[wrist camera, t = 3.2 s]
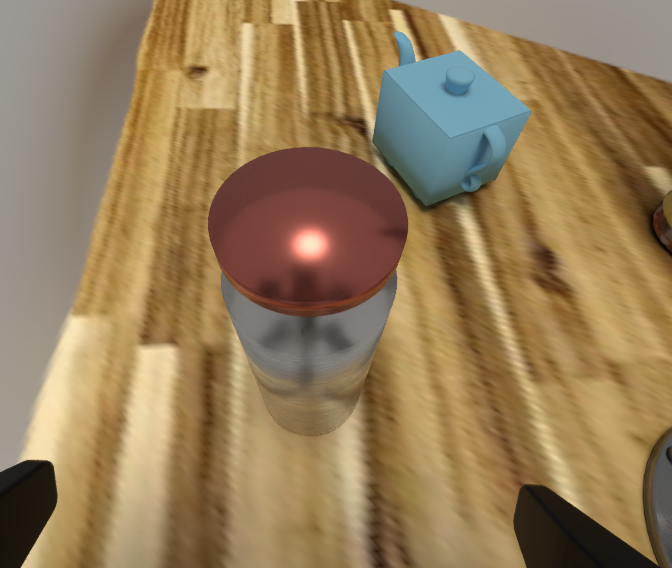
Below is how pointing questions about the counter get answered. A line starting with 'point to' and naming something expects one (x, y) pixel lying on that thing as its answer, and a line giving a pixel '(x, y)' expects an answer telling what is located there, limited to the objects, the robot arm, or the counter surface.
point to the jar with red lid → (308, 276)
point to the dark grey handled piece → (660, 499)
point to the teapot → (445, 123)
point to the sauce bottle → (664, 221)
